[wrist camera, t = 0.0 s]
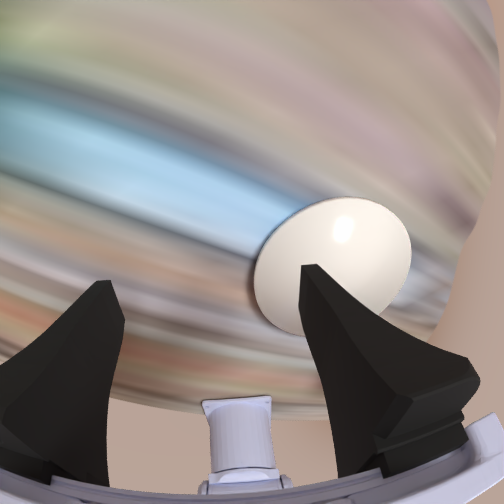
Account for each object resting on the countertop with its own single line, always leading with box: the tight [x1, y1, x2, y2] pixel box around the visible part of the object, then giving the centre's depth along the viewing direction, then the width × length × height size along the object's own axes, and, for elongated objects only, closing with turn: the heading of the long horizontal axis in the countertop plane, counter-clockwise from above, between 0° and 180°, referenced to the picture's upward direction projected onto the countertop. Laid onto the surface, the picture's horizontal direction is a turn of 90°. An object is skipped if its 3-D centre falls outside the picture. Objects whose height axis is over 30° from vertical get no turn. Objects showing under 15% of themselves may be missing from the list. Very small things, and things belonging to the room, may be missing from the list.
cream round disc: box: [254, 197, 411, 337], centre depth 24 cm, size 13×13×1 cm
